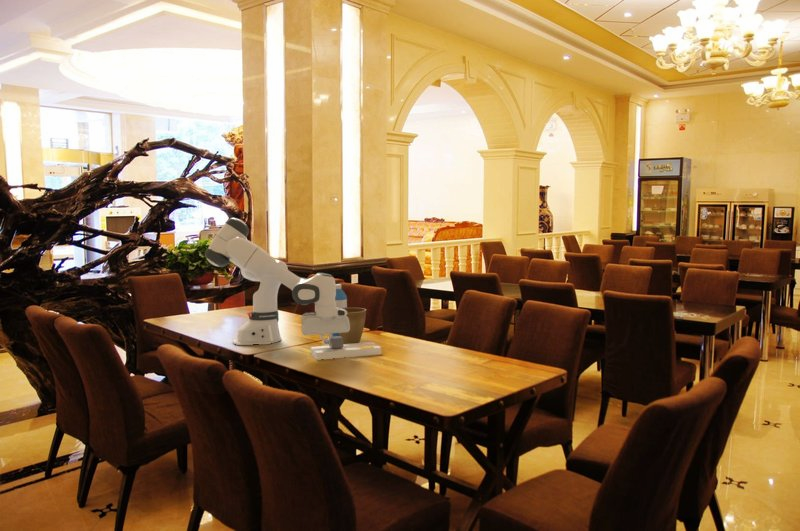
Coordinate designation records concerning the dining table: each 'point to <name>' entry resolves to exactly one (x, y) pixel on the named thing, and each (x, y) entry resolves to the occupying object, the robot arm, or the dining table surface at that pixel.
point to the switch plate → (345, 351)
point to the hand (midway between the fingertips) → (326, 344)
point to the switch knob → (336, 342)
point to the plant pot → (354, 325)
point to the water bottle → (340, 300)
